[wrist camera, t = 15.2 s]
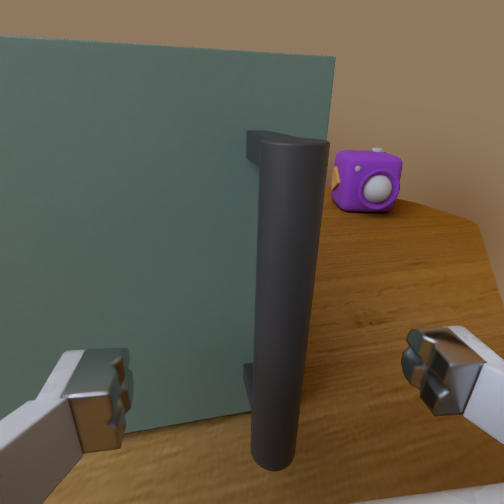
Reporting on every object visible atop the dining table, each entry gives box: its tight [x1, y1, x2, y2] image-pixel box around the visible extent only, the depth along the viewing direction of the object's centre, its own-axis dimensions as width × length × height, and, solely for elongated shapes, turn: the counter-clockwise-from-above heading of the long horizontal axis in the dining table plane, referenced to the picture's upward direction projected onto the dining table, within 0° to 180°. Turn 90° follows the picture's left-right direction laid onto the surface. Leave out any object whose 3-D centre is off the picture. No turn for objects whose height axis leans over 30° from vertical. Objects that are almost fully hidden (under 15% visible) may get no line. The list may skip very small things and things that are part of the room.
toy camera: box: [331, 148, 402, 212], centre depth 55 cm, size 11×14×10 cm
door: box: [0, 35, 335, 471], centre depth 12 cm, size 6×16×17 cm, turn 103°
